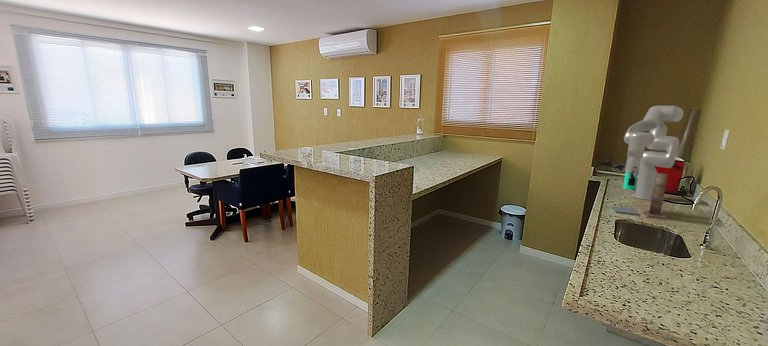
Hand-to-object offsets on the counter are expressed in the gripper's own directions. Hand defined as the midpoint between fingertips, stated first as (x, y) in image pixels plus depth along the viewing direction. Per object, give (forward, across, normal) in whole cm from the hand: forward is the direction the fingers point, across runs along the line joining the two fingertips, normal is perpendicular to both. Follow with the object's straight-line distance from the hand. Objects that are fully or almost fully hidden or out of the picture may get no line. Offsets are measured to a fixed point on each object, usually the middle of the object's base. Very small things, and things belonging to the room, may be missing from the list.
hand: (629, 183), depth 190 cm
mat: (+16, +6, -2) cm, 17 cm away
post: (+16, +9, +12) cm, 21 cm away
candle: (+3, 0, 0) cm, 3 cm away
